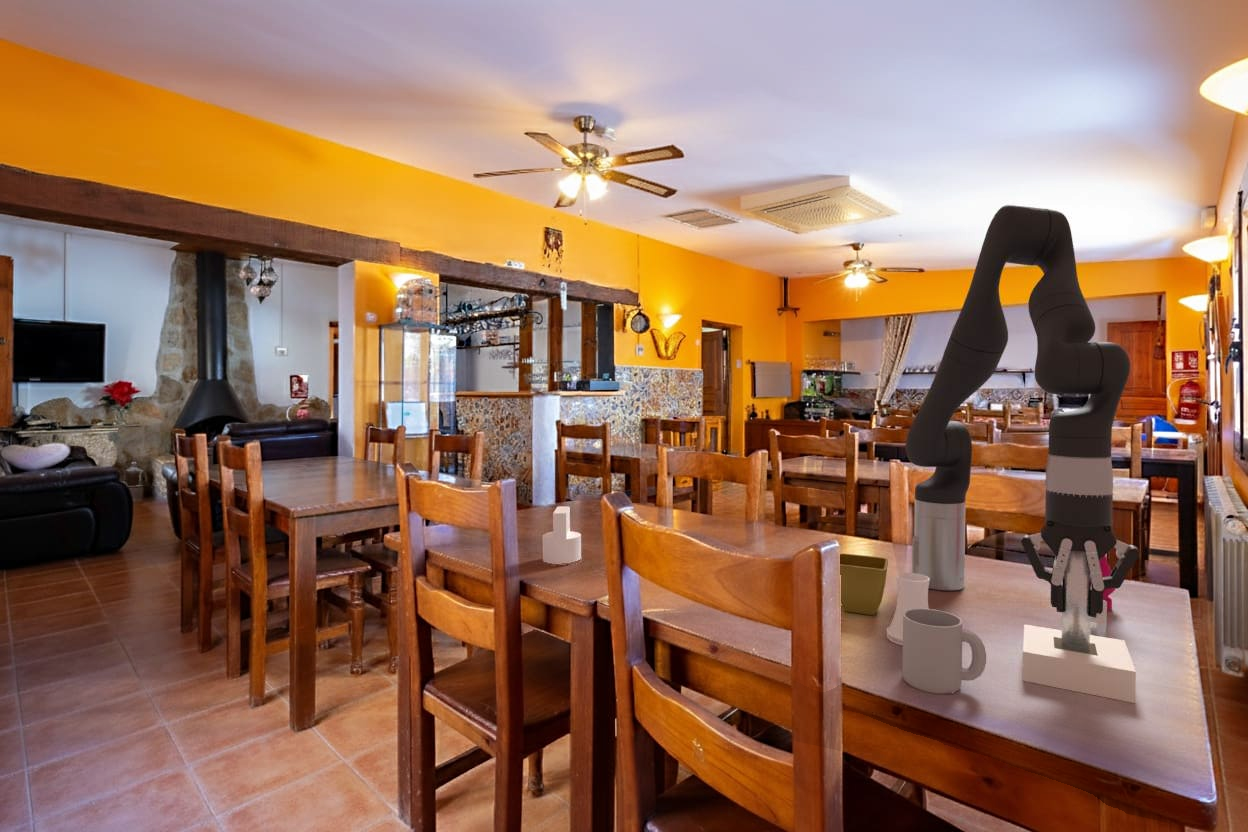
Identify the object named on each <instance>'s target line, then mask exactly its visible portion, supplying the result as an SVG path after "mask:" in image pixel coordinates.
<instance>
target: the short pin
mask: <svg viewBox="0 0 1248 832" xmlns="http://www.w3.org/2000/svg"><path fill="white" fill-rule="evenodd" d="M1107 614H1108V611H1107V602H1106V601H1105V600H1103V611H1102V613H1101V614H1098V613H1097V617H1096V618H1095V617H1090V635H1093V636H1100V637H1106V638H1107V625H1108V624H1107V622H1108V621H1107Z"/></svg>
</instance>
